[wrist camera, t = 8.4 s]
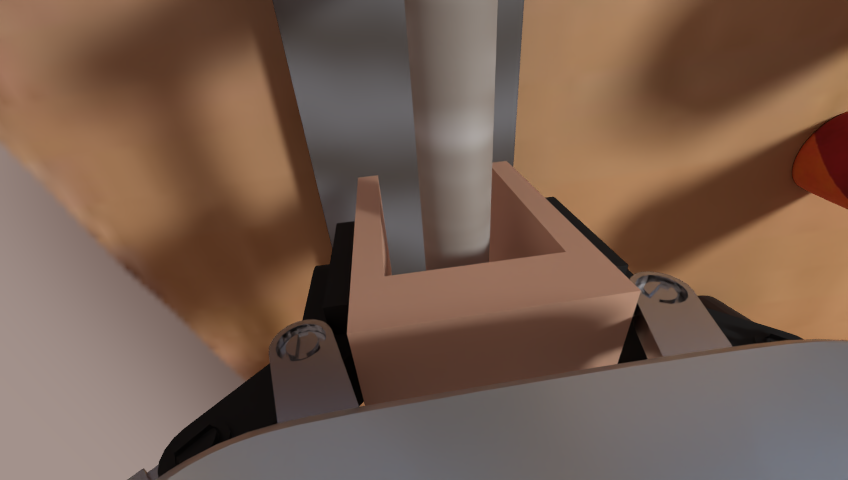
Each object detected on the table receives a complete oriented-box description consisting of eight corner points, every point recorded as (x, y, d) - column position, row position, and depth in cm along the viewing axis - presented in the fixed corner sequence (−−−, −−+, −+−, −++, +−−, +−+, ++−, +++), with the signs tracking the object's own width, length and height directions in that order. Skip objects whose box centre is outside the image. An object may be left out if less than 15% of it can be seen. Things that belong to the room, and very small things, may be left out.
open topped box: (358, 177, 12) (346, 333, 6) (506, 160, 13) (641, 290, 7) (373, 269, 15) (378, 457, 8) (501, 252, 15) (599, 418, 9)
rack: (249, -128, 14) (-442, -1033, 2) (520, -140, 15) (1138, -827, 3) (353, 319, 26) (341, 558, 15) (497, 299, 27) (596, 508, 15)
